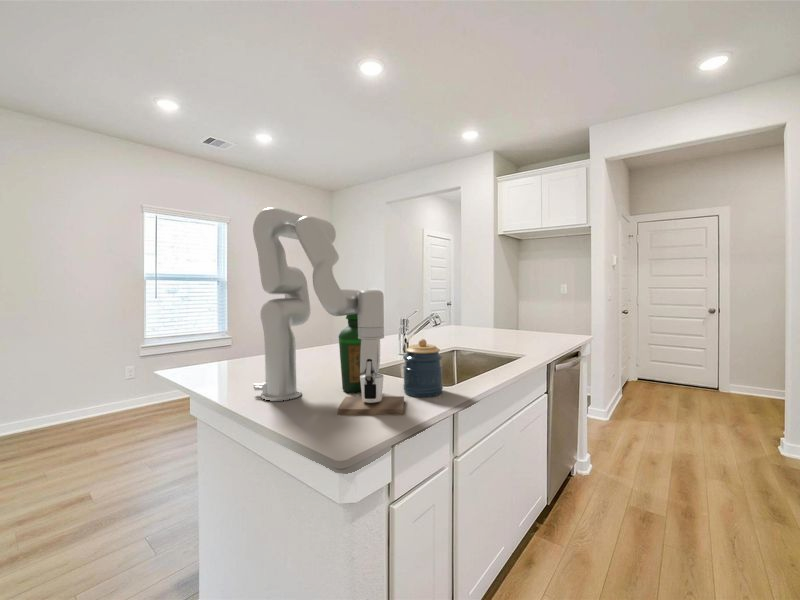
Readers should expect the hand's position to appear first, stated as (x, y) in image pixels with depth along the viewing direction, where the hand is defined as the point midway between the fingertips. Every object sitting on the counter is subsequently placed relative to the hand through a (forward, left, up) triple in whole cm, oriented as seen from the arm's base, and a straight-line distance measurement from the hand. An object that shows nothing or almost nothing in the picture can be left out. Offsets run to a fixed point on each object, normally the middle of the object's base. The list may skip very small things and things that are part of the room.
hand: (371, 394), depth 107 cm
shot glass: (0, 0, -2) cm, 2 cm away
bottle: (-8, +19, -4) cm, 21 cm away
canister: (+15, +16, -4) cm, 22 cm away
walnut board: (0, 0, -4) cm, 4 cm away
